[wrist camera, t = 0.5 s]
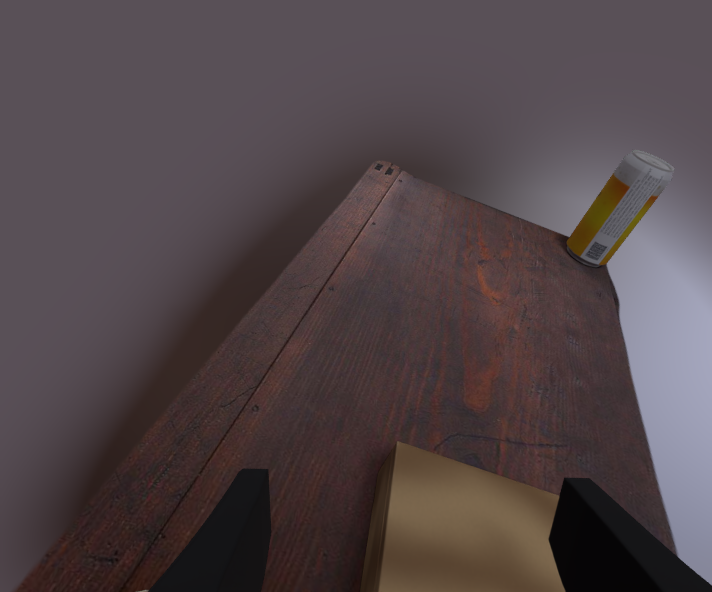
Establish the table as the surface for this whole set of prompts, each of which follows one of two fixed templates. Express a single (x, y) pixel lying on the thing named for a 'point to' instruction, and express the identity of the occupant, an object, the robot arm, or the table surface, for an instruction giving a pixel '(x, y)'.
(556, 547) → the robot arm
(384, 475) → the square wooden board
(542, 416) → the table surface
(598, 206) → the beer can
